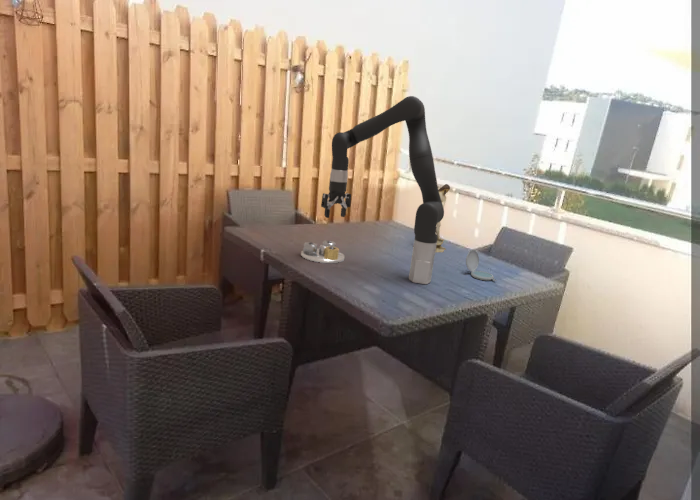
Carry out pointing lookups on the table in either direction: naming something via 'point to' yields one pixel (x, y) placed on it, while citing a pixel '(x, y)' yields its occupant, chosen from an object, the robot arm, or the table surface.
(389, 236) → the table surface
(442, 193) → the statue
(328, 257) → the planet gear
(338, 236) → the table surface
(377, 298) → the table surface
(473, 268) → the pocket watch
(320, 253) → the carrier
